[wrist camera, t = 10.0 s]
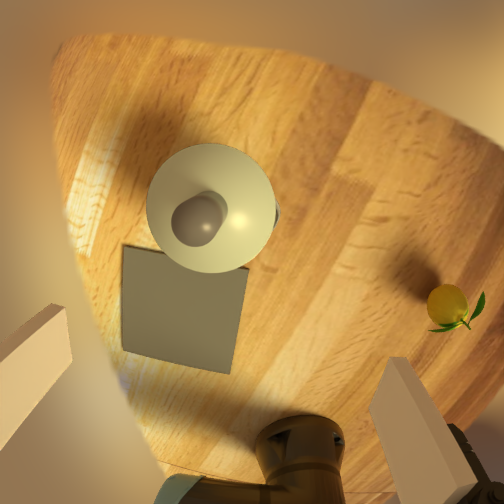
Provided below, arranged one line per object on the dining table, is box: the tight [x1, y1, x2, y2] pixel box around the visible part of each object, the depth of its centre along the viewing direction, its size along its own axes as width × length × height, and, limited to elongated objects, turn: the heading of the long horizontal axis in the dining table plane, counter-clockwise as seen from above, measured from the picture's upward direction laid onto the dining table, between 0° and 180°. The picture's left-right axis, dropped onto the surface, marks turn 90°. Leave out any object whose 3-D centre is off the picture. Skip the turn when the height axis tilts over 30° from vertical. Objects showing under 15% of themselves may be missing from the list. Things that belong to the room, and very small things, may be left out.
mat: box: [122, 246, 249, 374], centre depth 42 cm, size 16×16×1 cm
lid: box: [146, 143, 276, 273], centre depth 27 cm, size 12×12×7 cm
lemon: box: [427, 284, 485, 332], centre depth 35 cm, size 7×6×10 cm
